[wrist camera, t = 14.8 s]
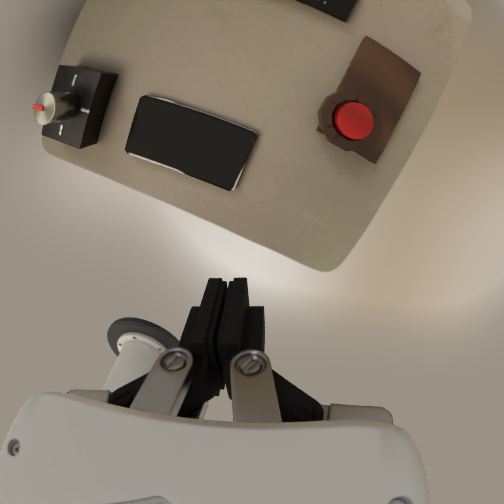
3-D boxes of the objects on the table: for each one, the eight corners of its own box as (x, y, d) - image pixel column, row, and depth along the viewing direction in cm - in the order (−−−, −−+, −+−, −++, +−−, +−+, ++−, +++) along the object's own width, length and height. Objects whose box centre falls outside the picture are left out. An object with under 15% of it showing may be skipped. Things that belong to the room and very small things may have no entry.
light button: (358, 144, 27) (363, 146, 25) (327, 126, 26) (331, 127, 25) (374, 114, 25) (379, 115, 23) (343, 96, 24) (347, 95, 23)
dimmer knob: (82, 93, 24) (57, 95, 20) (73, 123, 26) (48, 129, 21) (61, 88, 23) (36, 90, 19) (54, 116, 25) (29, 122, 21)
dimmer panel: (97, 143, 31) (79, 149, 27) (58, 129, 30) (40, 134, 26) (118, 74, 26) (101, 72, 22) (76, 65, 25) (57, 64, 21)
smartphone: (232, 193, 33) (123, 153, 30) (233, 190, 34) (127, 151, 31) (259, 132, 29) (141, 93, 26) (259, 131, 30) (145, 93, 28)
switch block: (370, 165, 30) (378, 170, 28) (306, 129, 29) (310, 131, 26) (416, 74, 24) (428, 72, 21) (356, 33, 22) (364, 27, 20)
